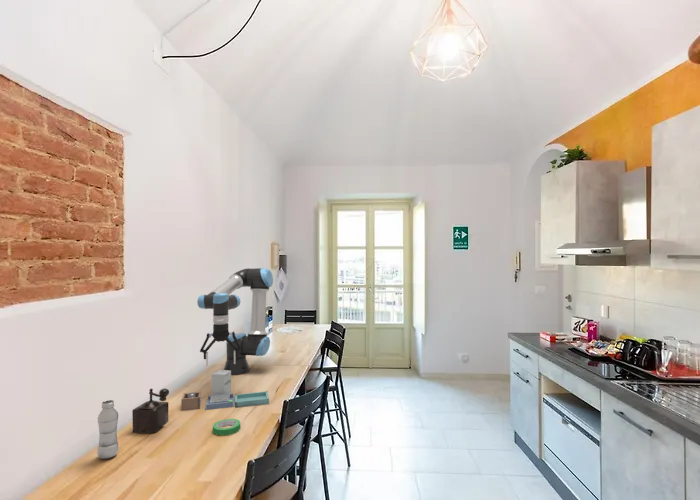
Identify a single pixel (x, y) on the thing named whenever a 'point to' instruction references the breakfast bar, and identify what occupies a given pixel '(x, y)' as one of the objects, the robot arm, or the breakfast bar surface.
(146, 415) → the manual coffee grinder
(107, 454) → the plastic bottle
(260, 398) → the teal shallow tray
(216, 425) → the tape roll
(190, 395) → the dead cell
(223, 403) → the base
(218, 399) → the checker plate
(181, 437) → the breakfast bar surface
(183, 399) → the brown open box
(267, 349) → the robot arm
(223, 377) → the supplement box
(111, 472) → the breakfast bar surface
